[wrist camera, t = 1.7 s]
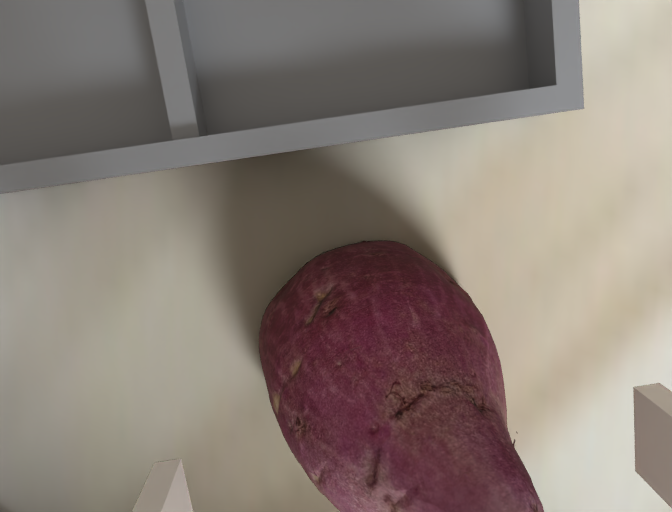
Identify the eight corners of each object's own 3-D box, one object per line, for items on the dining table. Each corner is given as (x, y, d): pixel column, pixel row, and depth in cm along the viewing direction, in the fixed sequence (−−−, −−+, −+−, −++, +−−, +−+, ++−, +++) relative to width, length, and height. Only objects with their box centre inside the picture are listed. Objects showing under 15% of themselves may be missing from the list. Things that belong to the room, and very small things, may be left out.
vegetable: (474, 269, 29) (784, 367, 15) (408, 454, 30) (652, 715, 16) (289, 204, 25) (478, 255, 11) (217, 417, 26) (313, 719, 12)
